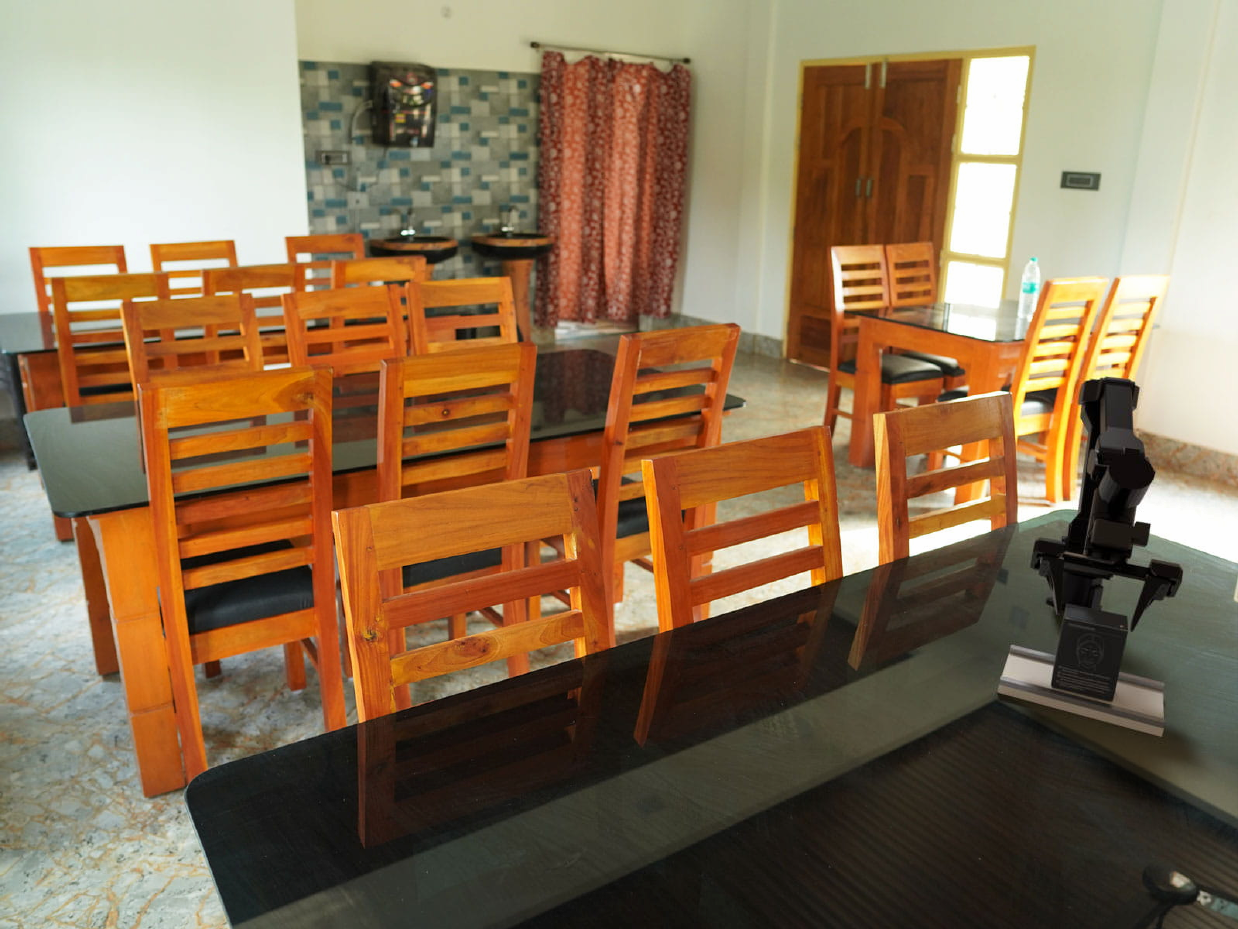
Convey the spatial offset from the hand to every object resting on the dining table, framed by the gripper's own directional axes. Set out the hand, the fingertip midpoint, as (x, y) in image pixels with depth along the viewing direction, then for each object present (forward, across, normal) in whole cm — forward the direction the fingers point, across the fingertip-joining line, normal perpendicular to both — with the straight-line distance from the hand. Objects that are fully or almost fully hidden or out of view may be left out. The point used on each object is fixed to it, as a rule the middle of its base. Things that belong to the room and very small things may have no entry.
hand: (1094, 622), depth 136 cm
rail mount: (+8, 0, +6) cm, 10 cm away
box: (+8, 0, +5) cm, 9 cm away
